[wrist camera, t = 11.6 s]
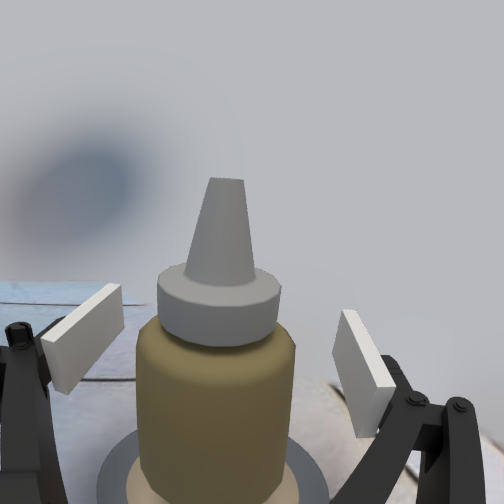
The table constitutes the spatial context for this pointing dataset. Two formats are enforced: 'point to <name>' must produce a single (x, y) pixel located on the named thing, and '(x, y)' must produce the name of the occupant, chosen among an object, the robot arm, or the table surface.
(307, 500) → the coaster
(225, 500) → the squeeze bottle
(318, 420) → the table surface
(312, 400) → the table surface
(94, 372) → the table surface
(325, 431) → the table surface
